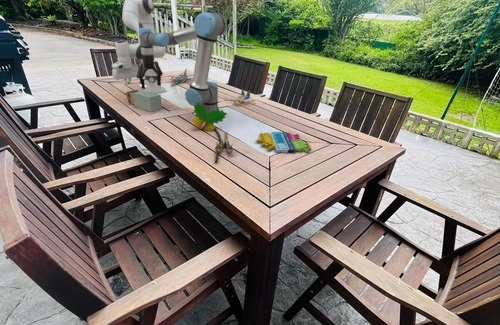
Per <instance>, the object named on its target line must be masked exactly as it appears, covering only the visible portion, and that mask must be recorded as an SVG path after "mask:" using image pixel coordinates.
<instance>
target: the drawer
mask: <svg viewBox="0 0 500 325" xmlns="http://www.w3.org/2000/svg"><path fill="white" fill-rule="evenodd" d="M139 91H140V90H138V89H134V90H129V91H126V92H123V96H126V98H127V103H128V104H132V105H135V104H134V98H133V93H135V92H139Z"/></svg>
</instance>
